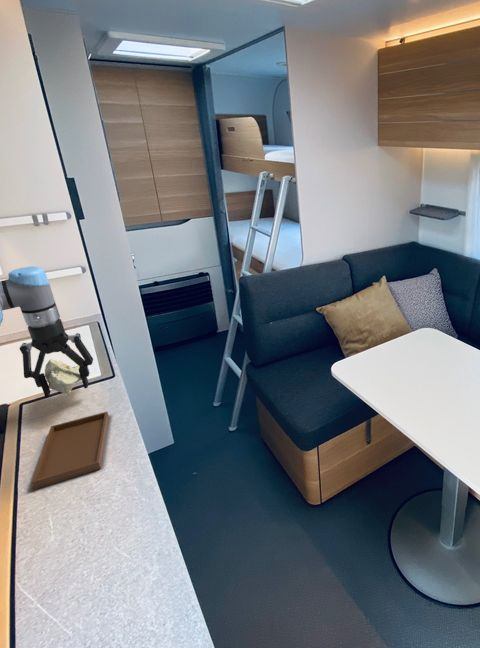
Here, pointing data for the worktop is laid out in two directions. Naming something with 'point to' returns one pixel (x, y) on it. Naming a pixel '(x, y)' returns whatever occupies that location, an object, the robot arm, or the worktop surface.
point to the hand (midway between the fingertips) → (67, 390)
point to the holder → (72, 450)
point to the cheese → (61, 376)
